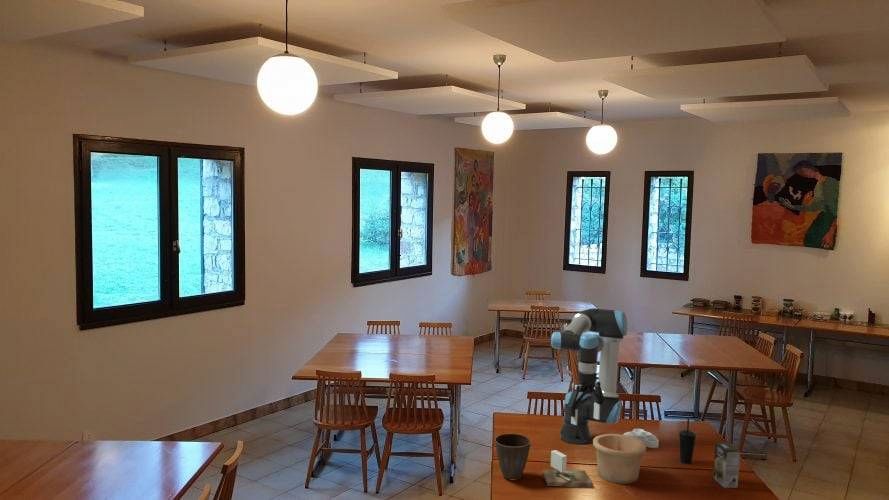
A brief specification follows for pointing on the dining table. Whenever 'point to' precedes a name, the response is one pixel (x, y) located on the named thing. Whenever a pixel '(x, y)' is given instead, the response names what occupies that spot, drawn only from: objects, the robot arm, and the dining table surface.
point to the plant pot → (512, 454)
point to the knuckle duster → (644, 437)
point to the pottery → (618, 457)
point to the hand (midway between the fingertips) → (585, 421)
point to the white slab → (559, 463)
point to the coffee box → (726, 464)
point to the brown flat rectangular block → (576, 477)
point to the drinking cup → (686, 444)
